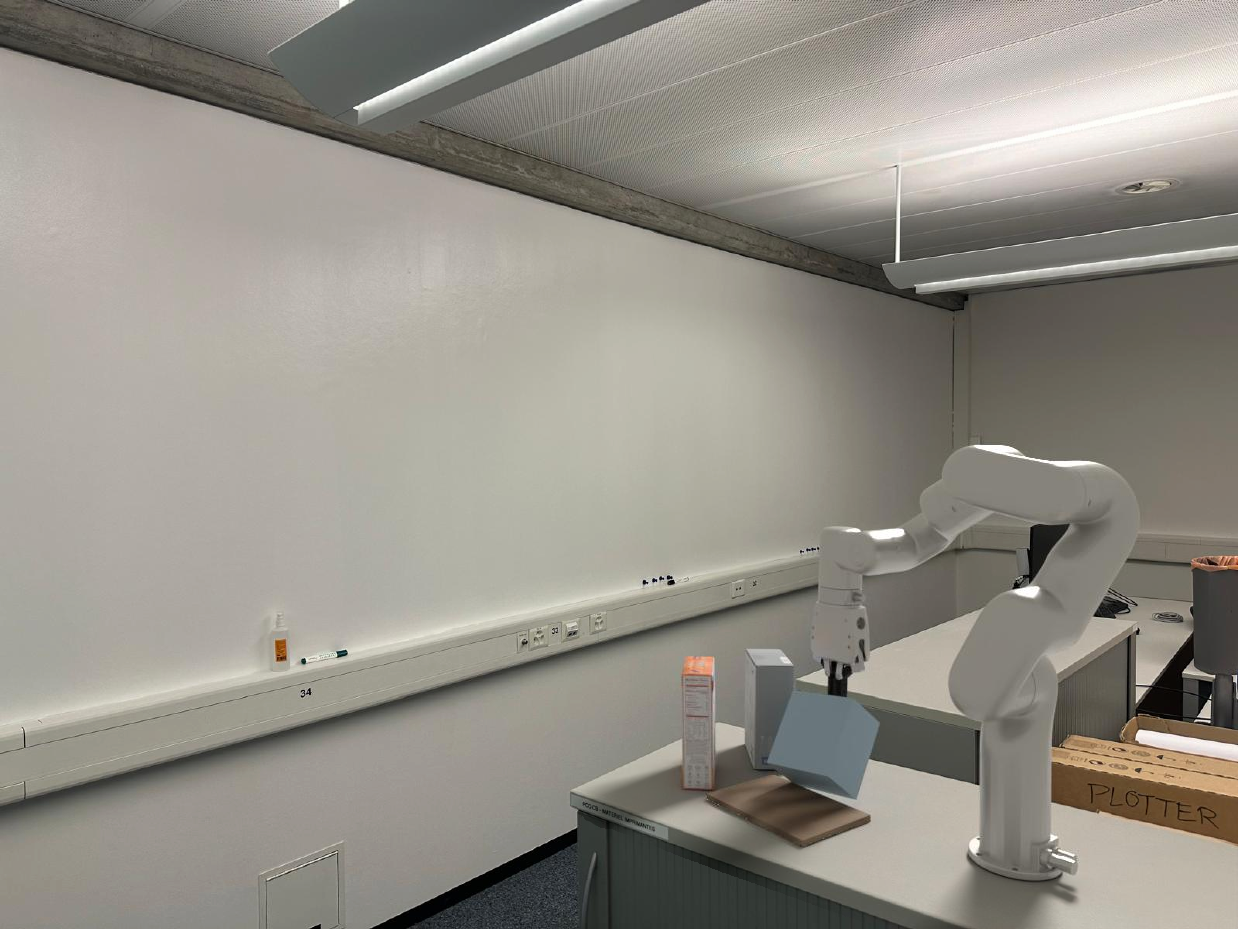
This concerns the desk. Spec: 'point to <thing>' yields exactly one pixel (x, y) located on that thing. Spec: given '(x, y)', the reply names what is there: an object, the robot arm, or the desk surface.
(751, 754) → the hard drive box
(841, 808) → the thin wooden board
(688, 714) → the cracker box
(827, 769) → the carton
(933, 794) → the desk surface
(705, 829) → the desk surface
